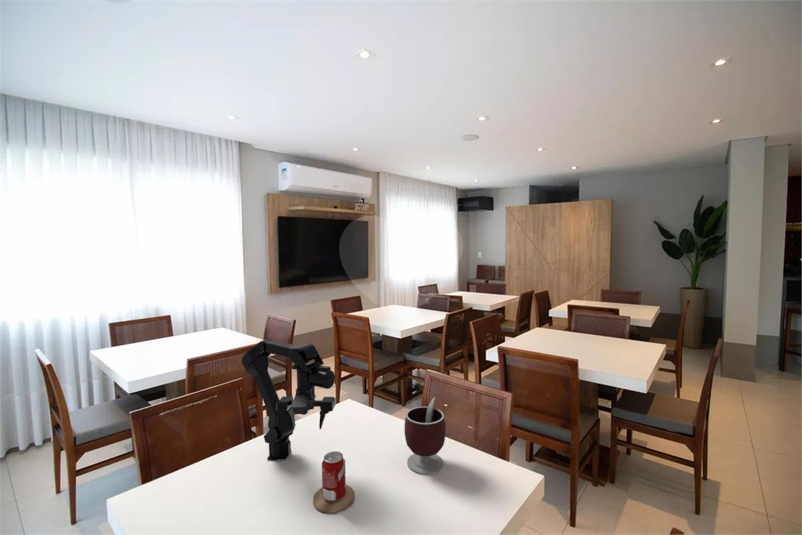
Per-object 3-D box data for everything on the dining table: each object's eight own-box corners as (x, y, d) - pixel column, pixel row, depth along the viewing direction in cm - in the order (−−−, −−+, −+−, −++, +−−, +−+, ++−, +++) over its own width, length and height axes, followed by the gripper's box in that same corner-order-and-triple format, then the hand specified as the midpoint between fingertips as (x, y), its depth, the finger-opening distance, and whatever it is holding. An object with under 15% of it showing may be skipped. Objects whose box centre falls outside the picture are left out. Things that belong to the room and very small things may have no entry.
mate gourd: (436, 481, 116) (435, 419, 115) (397, 469, 123) (396, 410, 121) (453, 456, 130) (453, 400, 128) (417, 446, 136) (417, 393, 135)
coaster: (307, 513, 103) (307, 510, 102) (319, 485, 115) (319, 482, 114) (350, 514, 102) (350, 511, 102) (357, 486, 114) (357, 483, 114)
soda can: (334, 507, 104) (333, 466, 103) (317, 498, 108) (316, 458, 107) (350, 493, 109) (349, 454, 109) (334, 485, 113) (333, 447, 112)
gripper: (268, 392, 115) (270, 440, 116) (327, 392, 115) (328, 441, 116) (281, 379, 126) (282, 423, 127) (335, 379, 126) (336, 424, 127)
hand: (306, 428), depth 124 cm, fingers open, 9 cm apart
